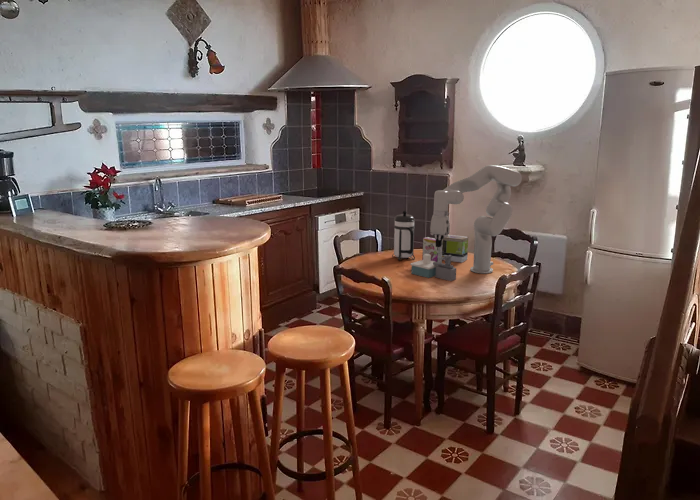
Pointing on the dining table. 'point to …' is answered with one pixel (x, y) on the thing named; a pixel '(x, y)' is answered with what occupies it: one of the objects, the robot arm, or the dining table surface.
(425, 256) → the lid
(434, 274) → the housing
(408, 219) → the coffee press
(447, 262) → the bolt
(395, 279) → the dining table surface
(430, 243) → the candy bar box
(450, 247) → the tea box
